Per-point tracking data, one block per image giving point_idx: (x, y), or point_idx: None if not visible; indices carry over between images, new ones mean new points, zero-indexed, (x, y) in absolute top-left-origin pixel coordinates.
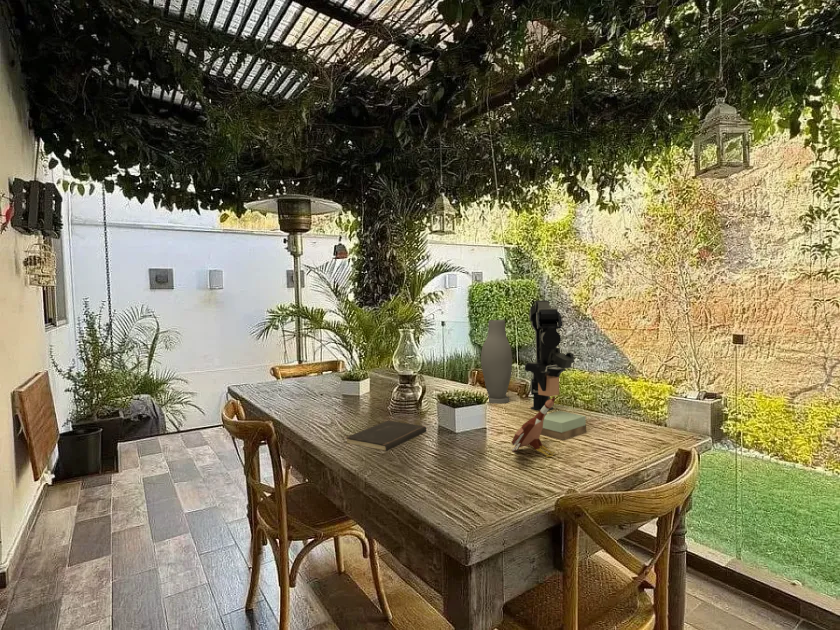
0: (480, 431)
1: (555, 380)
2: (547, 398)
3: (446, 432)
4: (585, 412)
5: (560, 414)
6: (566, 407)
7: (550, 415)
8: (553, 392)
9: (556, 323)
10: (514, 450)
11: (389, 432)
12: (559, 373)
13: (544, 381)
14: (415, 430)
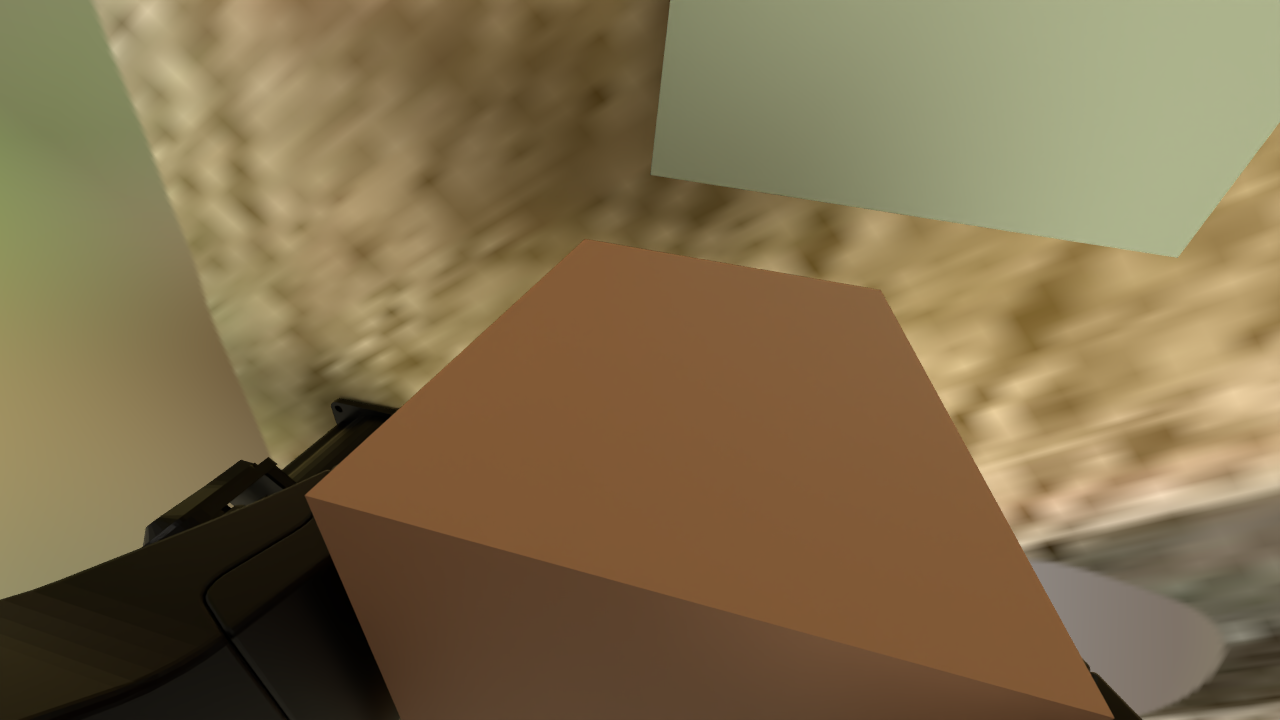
0: (1160, 546)
1: (621, 471)
2: (328, 466)
3: (1267, 673)
4: (200, 189)
5: (851, 48)
6: (240, 350)
7: (989, 137)
8: (771, 298)
9: None
10: None
11: None
12: (11, 658)
13: (1129, 708)
14: None
